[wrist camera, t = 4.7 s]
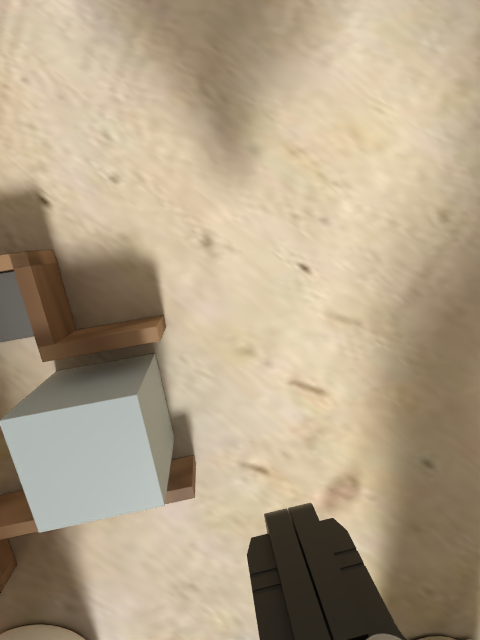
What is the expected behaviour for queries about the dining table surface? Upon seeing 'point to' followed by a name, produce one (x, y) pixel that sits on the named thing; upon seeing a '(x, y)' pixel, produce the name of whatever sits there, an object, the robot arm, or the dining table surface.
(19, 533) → the trap lane
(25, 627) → the fruit juice
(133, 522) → the dining table surface
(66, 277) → the dining table surface
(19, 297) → the pad
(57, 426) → the slate block
